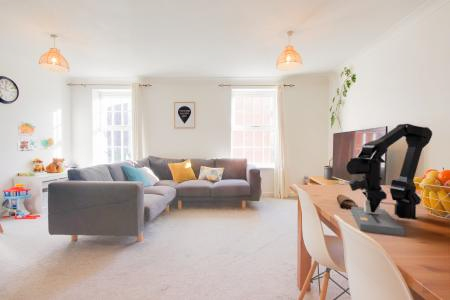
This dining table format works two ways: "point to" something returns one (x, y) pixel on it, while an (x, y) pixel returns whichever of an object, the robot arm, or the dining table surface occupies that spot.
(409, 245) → the dining table surface
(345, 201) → the sunglasses case
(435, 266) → the dining table surface
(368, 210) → the fader knob
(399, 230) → the fader console
